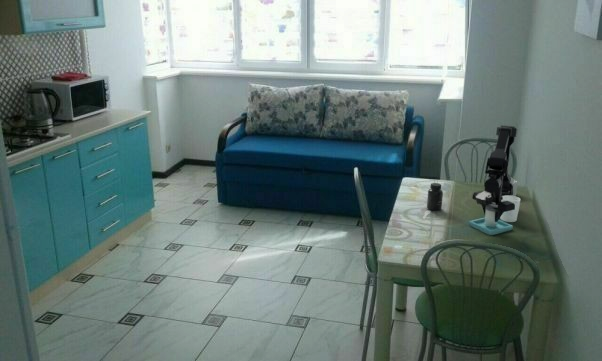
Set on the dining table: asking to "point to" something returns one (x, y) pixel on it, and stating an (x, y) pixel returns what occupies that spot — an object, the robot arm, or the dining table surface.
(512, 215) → the white cup
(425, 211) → the butter knife
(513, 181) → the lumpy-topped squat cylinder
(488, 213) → the spice jar
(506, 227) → the tray
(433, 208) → the supplement bottle
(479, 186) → the dining table surface
